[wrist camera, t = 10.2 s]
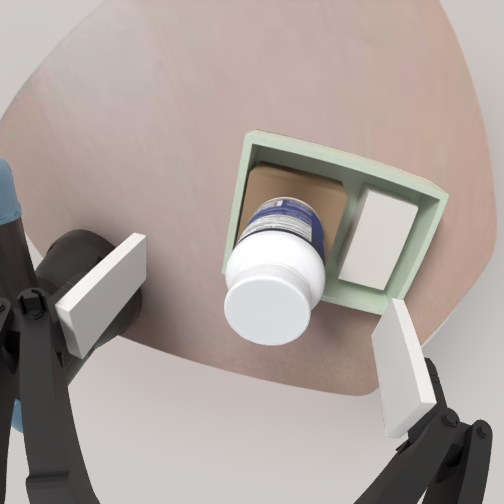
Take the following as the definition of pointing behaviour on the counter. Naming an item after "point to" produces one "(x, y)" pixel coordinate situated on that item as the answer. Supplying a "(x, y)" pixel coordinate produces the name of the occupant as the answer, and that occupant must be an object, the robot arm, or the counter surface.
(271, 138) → the box
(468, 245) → the counter surface
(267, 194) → the walnut block
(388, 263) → the white box
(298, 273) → the pill bottle
